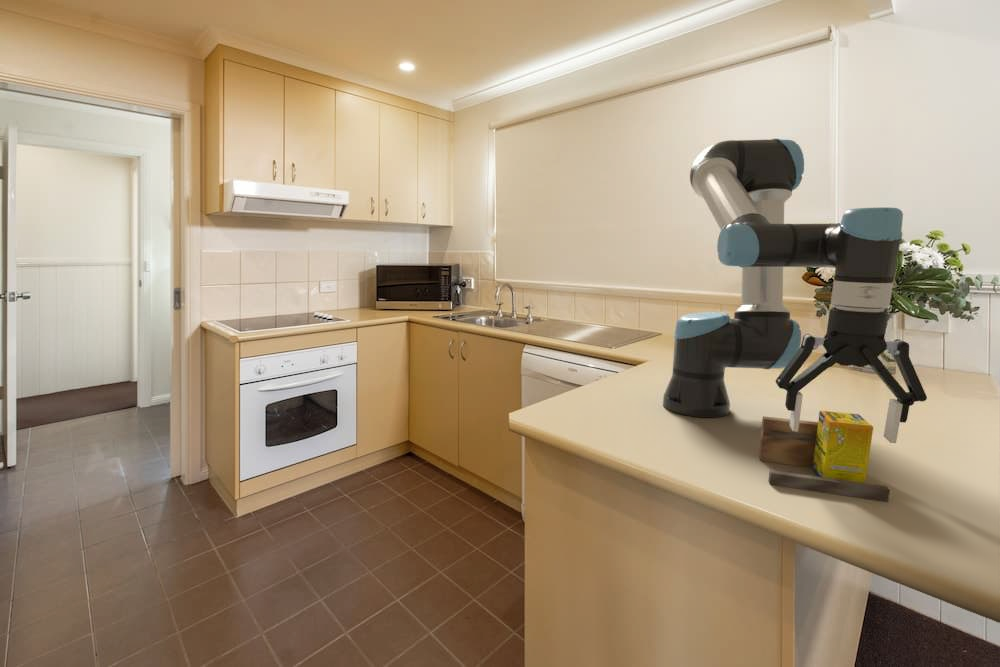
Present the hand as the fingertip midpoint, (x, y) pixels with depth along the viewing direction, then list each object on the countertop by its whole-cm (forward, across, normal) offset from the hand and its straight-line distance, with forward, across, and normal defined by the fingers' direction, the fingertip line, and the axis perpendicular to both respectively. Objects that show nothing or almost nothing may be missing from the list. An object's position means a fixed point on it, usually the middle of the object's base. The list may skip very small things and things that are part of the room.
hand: (840, 434), depth 80 cm
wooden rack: (+8, -3, -1) cm, 8 cm away
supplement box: (+8, 0, -1) cm, 8 cm away
